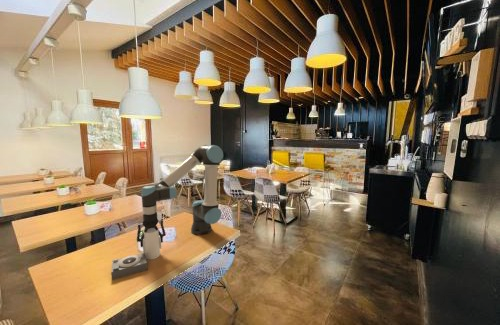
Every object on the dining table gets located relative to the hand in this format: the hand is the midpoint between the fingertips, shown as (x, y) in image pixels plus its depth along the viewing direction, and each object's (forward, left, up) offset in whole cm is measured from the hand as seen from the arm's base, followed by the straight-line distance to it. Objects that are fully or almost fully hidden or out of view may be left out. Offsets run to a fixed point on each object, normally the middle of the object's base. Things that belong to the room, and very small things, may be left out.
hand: (152, 249), depth 129 cm
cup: (0, 0, -4) cm, 4 cm away
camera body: (+12, +8, -4) cm, 15 cm away
